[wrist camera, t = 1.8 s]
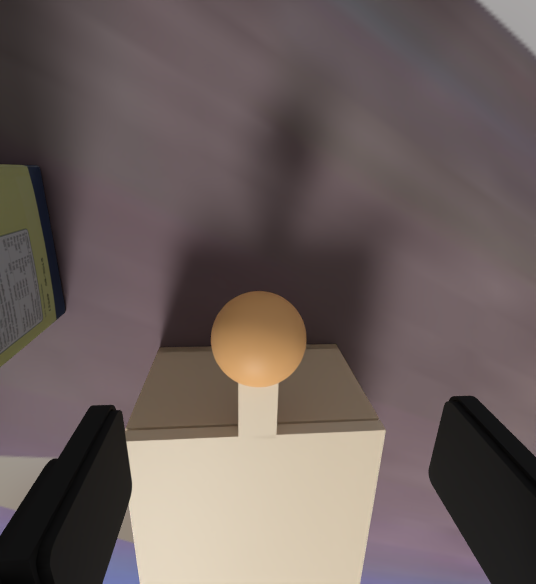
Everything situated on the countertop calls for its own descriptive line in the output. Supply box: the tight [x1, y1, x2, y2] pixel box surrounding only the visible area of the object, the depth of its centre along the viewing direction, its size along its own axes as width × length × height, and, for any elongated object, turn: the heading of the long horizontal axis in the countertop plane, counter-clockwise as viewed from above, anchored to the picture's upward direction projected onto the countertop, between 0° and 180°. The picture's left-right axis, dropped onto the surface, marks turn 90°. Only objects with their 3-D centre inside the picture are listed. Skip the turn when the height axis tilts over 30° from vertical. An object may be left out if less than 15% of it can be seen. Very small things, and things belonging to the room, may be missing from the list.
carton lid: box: [125, 291, 386, 584], centre depth 20 cm, size 24×14×5 cm, turn 178°
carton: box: [126, 344, 379, 431], centre depth 26 cm, size 16×14×9 cm
